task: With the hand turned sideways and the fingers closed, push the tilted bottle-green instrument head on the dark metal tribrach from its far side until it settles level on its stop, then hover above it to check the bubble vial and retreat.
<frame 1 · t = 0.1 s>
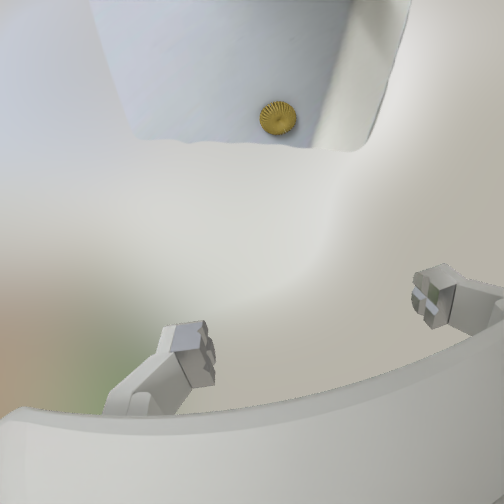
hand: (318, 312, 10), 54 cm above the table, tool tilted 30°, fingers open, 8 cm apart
sculpture: (275, 114, 59), on the table
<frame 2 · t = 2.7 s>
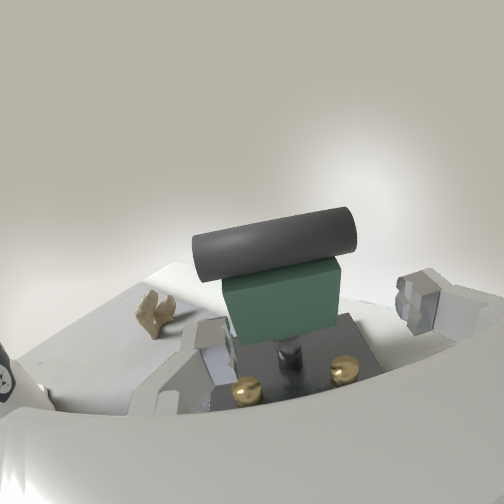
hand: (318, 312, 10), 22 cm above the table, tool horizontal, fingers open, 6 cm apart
instrument head: (279, 282, 28), point 14 cm above the table, hinge at 15.0°
bone: (159, 326, 50), on the table
tribrach: (292, 372, 35), on the table
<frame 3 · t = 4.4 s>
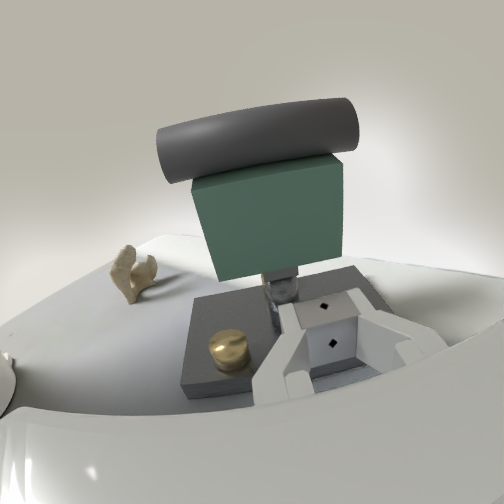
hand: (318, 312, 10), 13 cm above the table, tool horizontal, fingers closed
instrument head: (267, 195, 22), point 14 cm above the table, hinge at 15.0°
bone: (139, 291, 44), on the table
tribrach: (288, 331, 29), on the table
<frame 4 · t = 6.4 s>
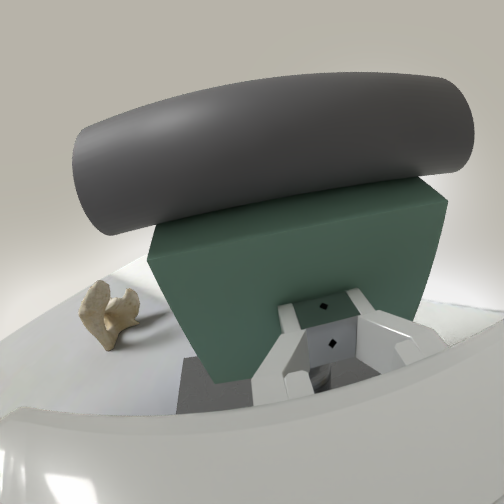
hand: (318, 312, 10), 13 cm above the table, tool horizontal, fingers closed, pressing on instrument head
instrument head: (297, 246, 12), point 14 cm above the table, hinge at 14.7°, touching gripper
bone: (119, 332, 34), on the table
tribrach: (311, 413, 19), on the table
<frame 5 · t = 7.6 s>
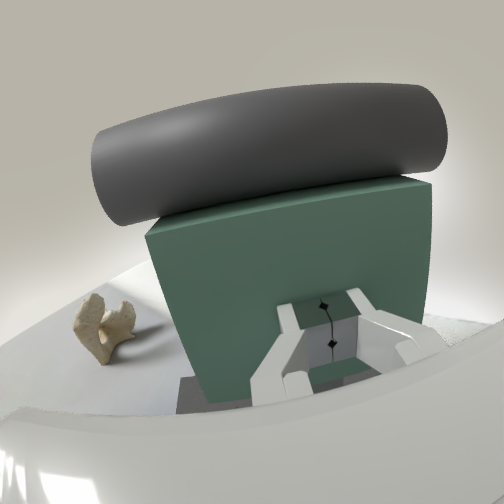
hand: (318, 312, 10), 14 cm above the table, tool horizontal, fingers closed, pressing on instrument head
instrument head: (294, 256, 13), point 14 cm above the table, hinge at -1.1°, touching gripper
bone: (114, 345, 32), on the table
tribrach: (313, 437, 18), on the table
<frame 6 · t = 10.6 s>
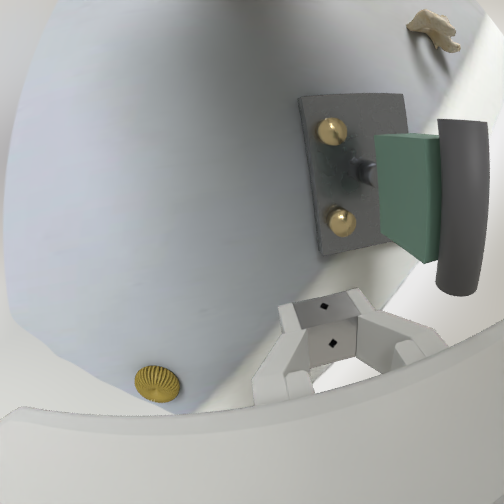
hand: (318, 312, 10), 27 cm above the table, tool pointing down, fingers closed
sculpture: (158, 375, 46), on the table
instrument head: (431, 192, 22), point 14 cm above the table, hinge at -1.1°
bone: (426, 32, 27), on the table
tribrach: (360, 170, 35), on the table
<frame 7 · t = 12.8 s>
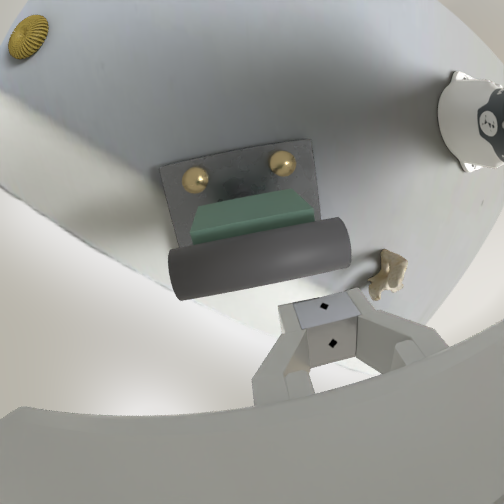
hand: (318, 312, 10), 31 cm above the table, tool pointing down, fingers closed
sculpture: (34, 39, 26), on the table
instrument head: (254, 240, 27), point 14 cm above the table, hinge at -1.1°
bone: (381, 270, 47), on the table
tribrach: (243, 199, 40), on the table
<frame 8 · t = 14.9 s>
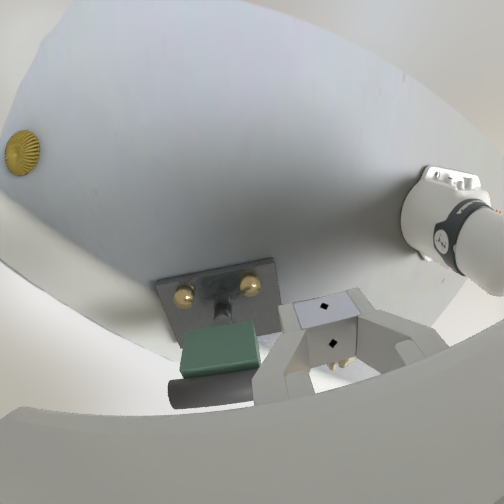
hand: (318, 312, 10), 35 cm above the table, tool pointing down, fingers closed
sculpture: (28, 151, 37), on the table
instrument head: (223, 364, 38), point 14 cm above the table, hinge at -1.1°
bone: (340, 343, 57), on the table
tribrach: (223, 304, 51), on the table
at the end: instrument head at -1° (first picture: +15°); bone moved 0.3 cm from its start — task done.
